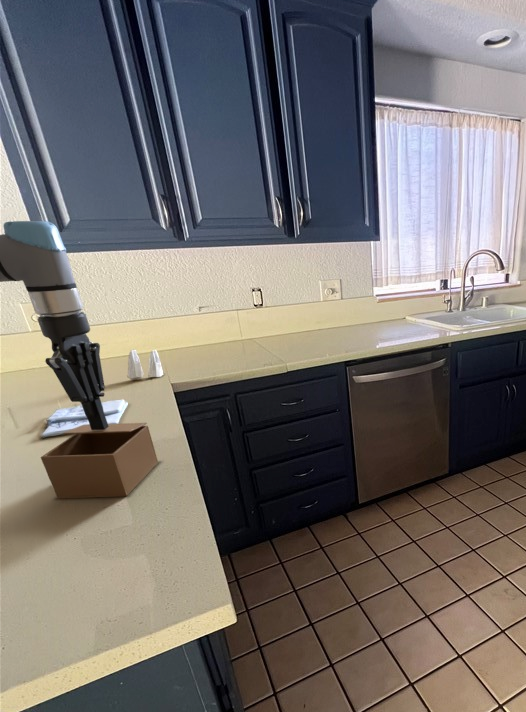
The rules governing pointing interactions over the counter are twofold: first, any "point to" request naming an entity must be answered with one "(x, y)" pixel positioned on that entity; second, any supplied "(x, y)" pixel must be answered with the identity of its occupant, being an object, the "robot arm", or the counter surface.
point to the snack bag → (81, 417)
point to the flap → (111, 429)
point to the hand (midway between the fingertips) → (100, 428)
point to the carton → (100, 463)
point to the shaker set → (135, 366)
